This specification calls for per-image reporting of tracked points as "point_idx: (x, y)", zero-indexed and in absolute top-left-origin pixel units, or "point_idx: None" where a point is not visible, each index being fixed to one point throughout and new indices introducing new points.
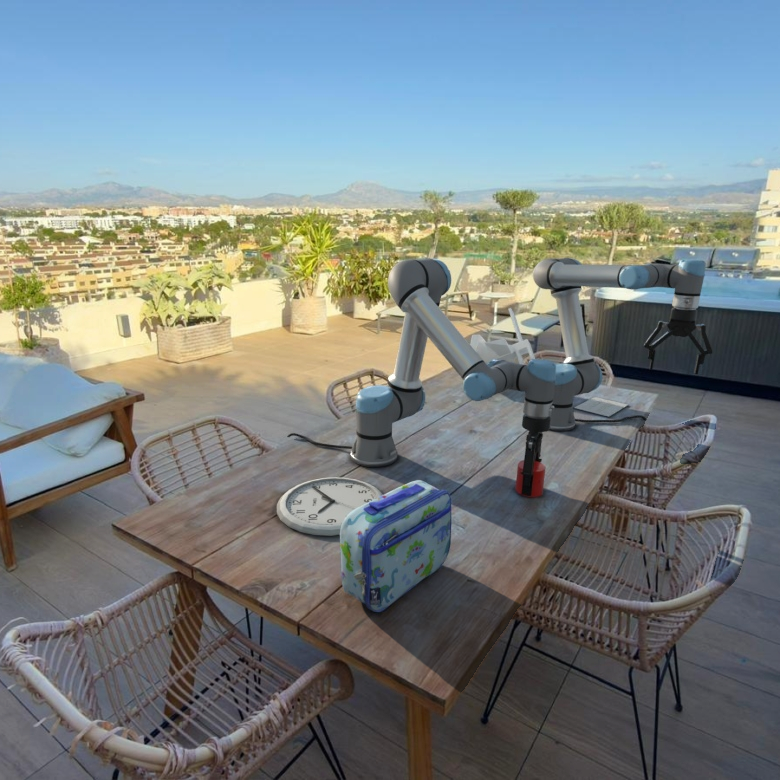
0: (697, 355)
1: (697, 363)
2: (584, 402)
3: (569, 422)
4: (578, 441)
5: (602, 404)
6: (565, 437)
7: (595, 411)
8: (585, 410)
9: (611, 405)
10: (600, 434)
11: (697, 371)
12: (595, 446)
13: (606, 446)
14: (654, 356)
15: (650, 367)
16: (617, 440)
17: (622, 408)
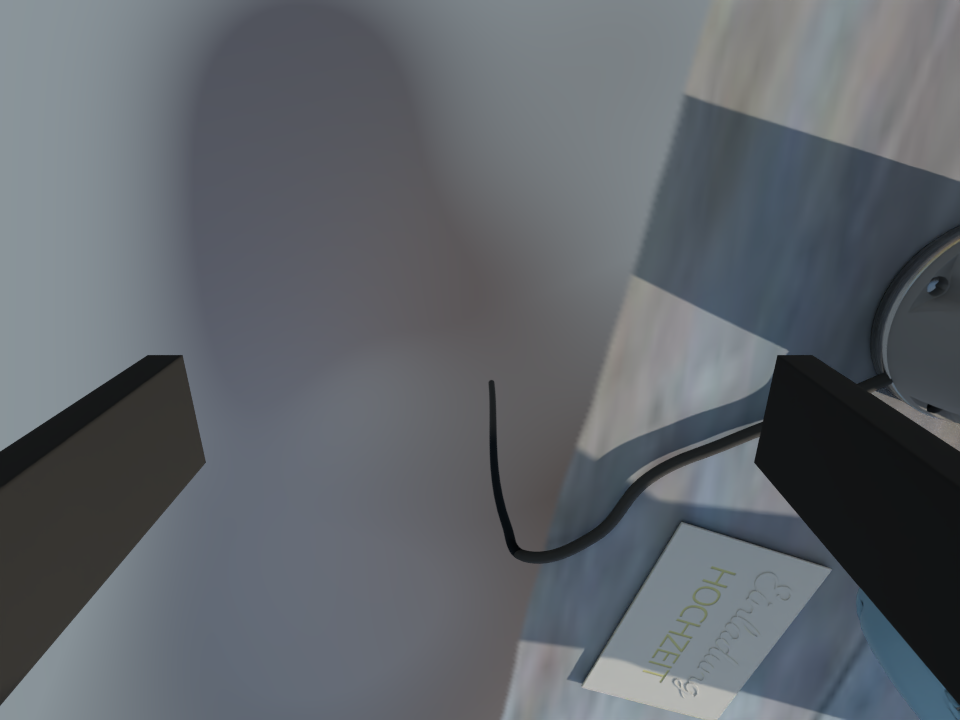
0: (5, 688)
1: (57, 444)
2: (770, 646)
3: (935, 295)
4: (890, 109)
5: (692, 651)
6: (954, 141)
7: (736, 559)
8: (782, 554)
9: (653, 654)
10: (751, 274)
11: (130, 373)
12: (806, 72)
13: (745, 102)
14: (942, 476)
15: (824, 366)
16: (675, 224)
17: (609, 640)
